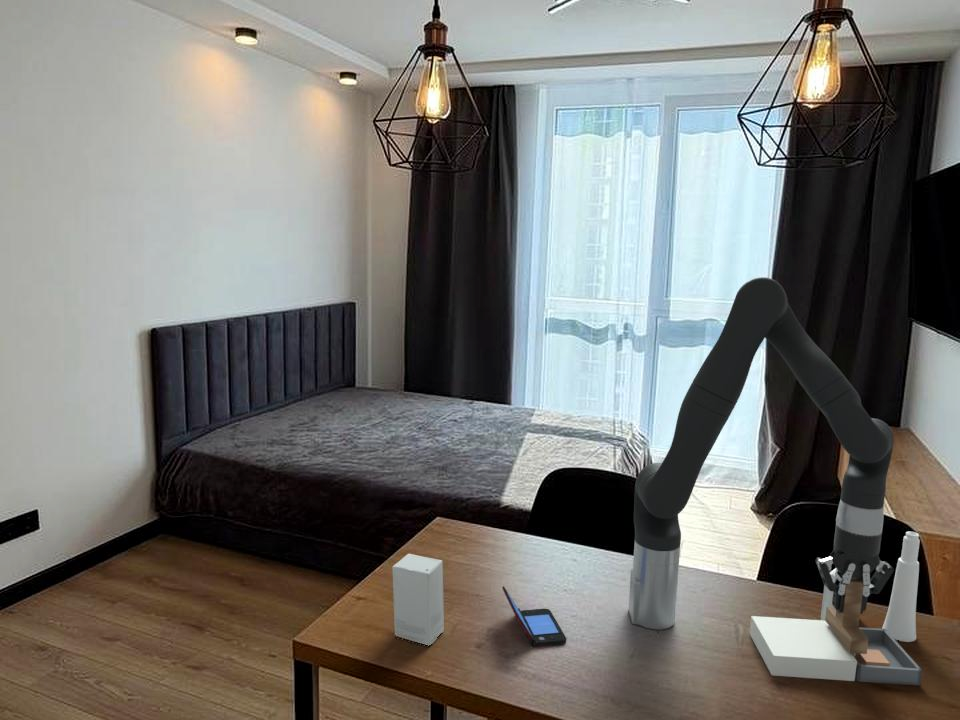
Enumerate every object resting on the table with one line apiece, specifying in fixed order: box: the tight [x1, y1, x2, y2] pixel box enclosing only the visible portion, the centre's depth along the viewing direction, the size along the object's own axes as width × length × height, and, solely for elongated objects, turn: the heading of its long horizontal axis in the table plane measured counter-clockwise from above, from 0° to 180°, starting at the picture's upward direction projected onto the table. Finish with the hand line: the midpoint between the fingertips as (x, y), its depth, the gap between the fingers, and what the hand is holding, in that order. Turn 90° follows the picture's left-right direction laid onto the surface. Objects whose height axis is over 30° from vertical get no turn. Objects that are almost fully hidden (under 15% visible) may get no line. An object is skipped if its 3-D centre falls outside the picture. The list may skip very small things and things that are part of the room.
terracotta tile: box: [855, 649, 890, 667], centre depth 129 cm, size 4×4×2 cm
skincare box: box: [392, 553, 445, 647], centre depth 136 cm, size 8×7×16 cm
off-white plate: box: [749, 615, 857, 682], centre depth 132 cm, size 15×14×4 cm
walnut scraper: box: [825, 578, 868, 654], centre depth 130 cm, size 3×11×12 cm, turn 175°
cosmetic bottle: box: [881, 531, 921, 643], centre depth 139 cm, size 6×6×22 cm
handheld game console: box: [502, 586, 567, 648], centre depth 139 cm, size 12×11×7 cm
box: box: [851, 626, 923, 686], centre depth 131 cm, size 11×14×3 cm
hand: (848, 610), depth 130 cm, fingers closed on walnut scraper, 3 cm apart
